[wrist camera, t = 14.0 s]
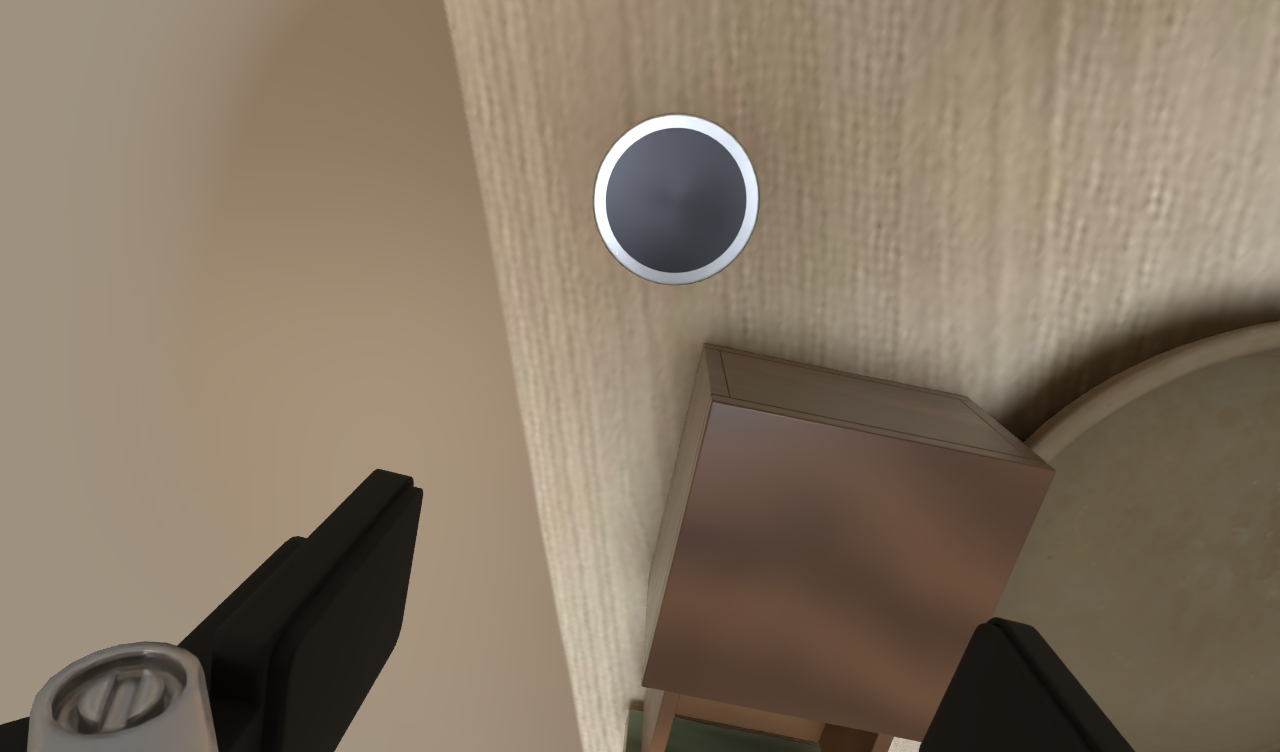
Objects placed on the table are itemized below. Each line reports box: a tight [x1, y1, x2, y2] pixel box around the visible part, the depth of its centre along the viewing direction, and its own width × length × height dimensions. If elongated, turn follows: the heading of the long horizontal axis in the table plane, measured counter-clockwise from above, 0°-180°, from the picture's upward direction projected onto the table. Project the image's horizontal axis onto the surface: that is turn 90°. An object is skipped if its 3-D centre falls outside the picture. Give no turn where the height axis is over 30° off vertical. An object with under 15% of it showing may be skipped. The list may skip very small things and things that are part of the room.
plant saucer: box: [991, 321, 1280, 752], centre depth 35 cm, size 31×31×5 cm
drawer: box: [623, 688, 894, 752], centre depth 37 cm, size 18×13×7 cm
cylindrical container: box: [593, 113, 760, 285], centre depth 26 cm, size 5×5×13 cm
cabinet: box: [642, 343, 1056, 742], centre depth 33 cm, size 15×14×9 cm
